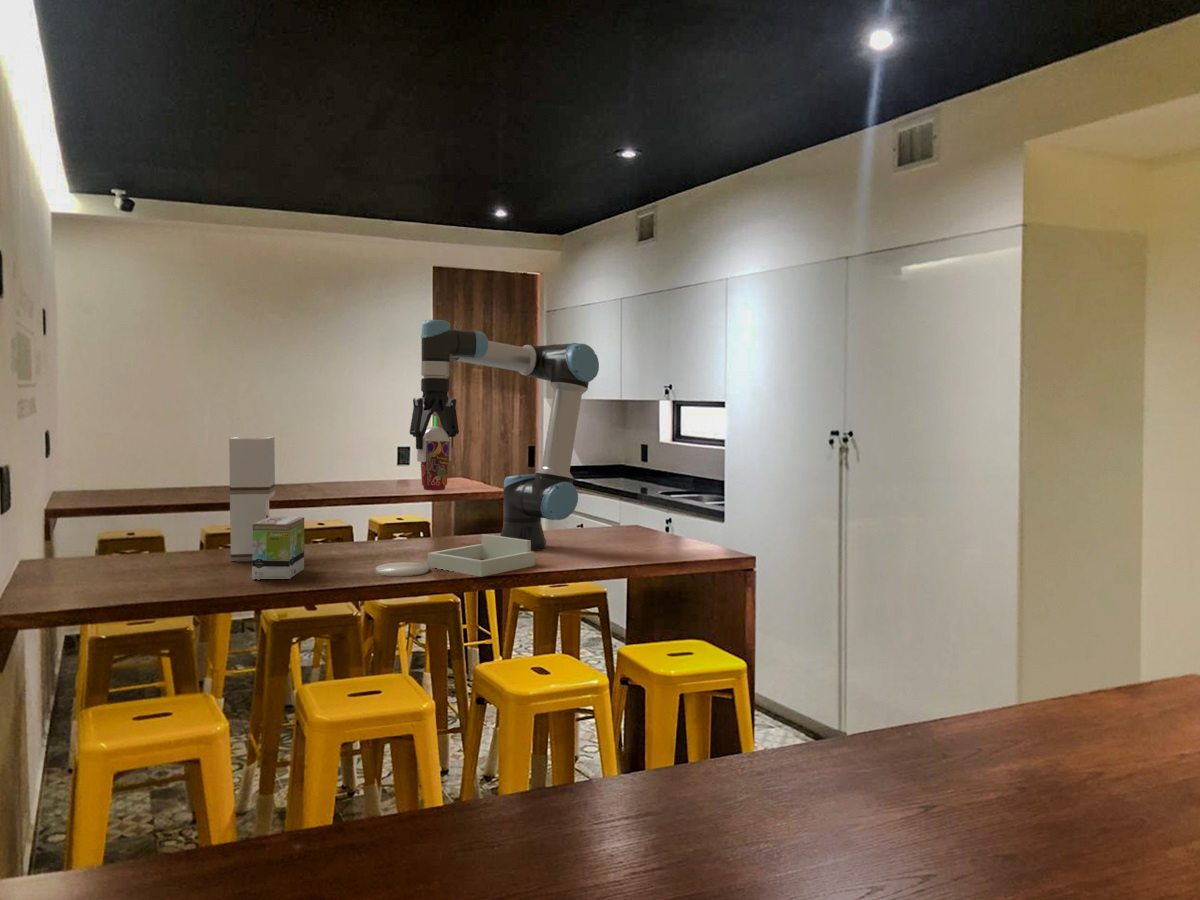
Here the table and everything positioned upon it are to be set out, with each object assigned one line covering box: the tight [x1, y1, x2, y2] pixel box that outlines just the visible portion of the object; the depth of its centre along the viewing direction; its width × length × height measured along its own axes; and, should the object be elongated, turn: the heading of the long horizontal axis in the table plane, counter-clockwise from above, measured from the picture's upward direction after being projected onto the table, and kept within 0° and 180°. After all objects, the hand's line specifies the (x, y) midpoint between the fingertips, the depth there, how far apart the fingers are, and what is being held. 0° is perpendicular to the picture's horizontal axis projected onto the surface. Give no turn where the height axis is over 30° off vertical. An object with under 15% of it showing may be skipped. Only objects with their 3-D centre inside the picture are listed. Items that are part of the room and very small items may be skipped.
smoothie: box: [420, 415, 450, 491], centre depth 252 cm, size 8×8×20 cm
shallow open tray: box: [427, 533, 536, 578], centre depth 259 cm, size 21×21×7 cm
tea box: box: [251, 516, 305, 581], centre depth 244 cm, size 15×10×15 cm
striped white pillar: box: [228, 436, 276, 562], centre depth 269 cm, size 11×11×35 cm
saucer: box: [375, 561, 430, 577], centre depth 251 cm, size 14×14×1 cm
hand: (434, 460), depth 252 cm, fingers closed on smoothie, 8 cm apart
